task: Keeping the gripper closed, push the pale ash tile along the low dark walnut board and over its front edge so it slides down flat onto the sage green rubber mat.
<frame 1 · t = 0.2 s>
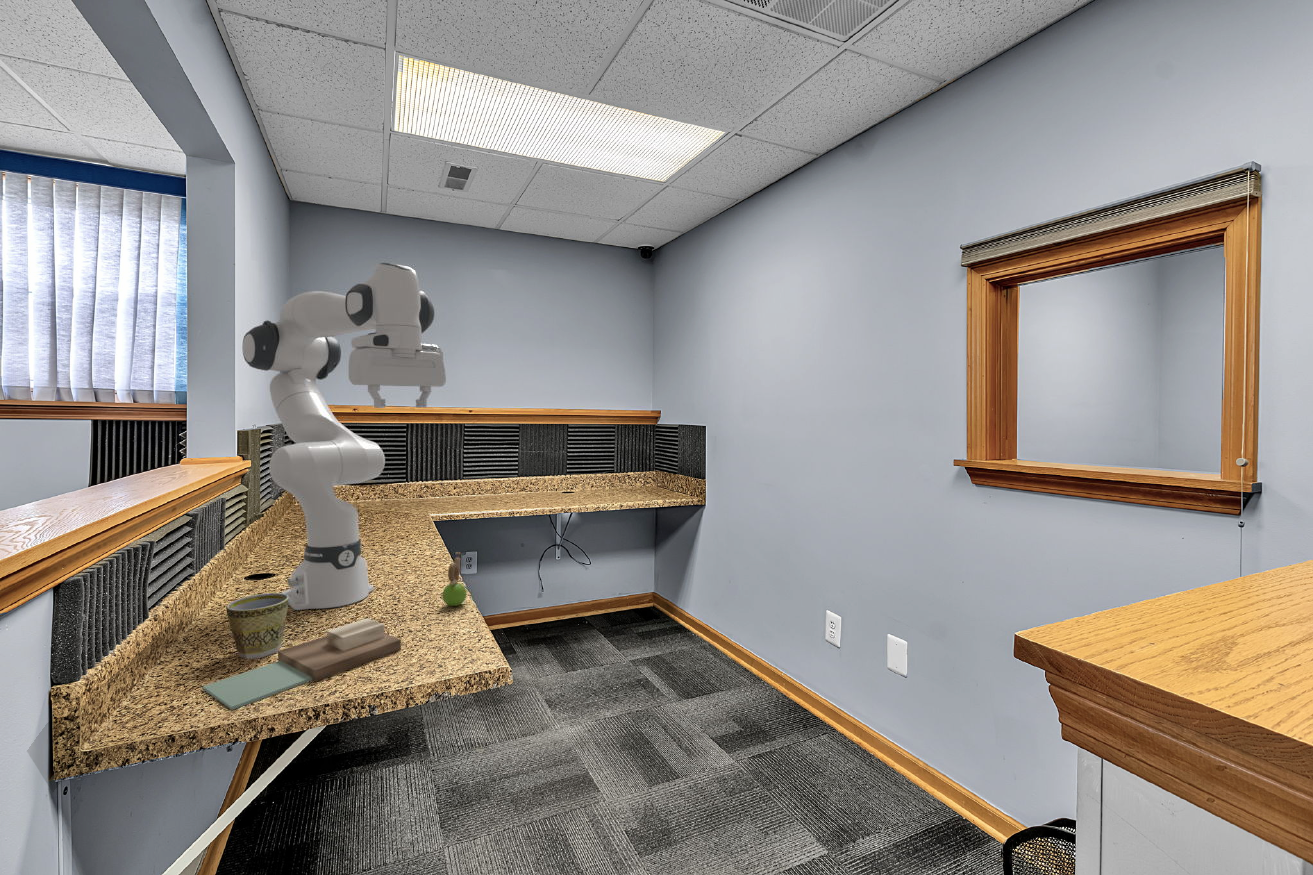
hand: (401, 407, 124), 47 cm above the table, tool pointing down, fingers open, 8 cm apart
ash tile: (356, 640, 114), point 2 cm above the table, touching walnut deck
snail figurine: (455, 605, 140), on the table
rubber mat: (258, 684, 100), on the table
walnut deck: (341, 655, 112), on the table
ceramic cup: (263, 649, 115), on the table
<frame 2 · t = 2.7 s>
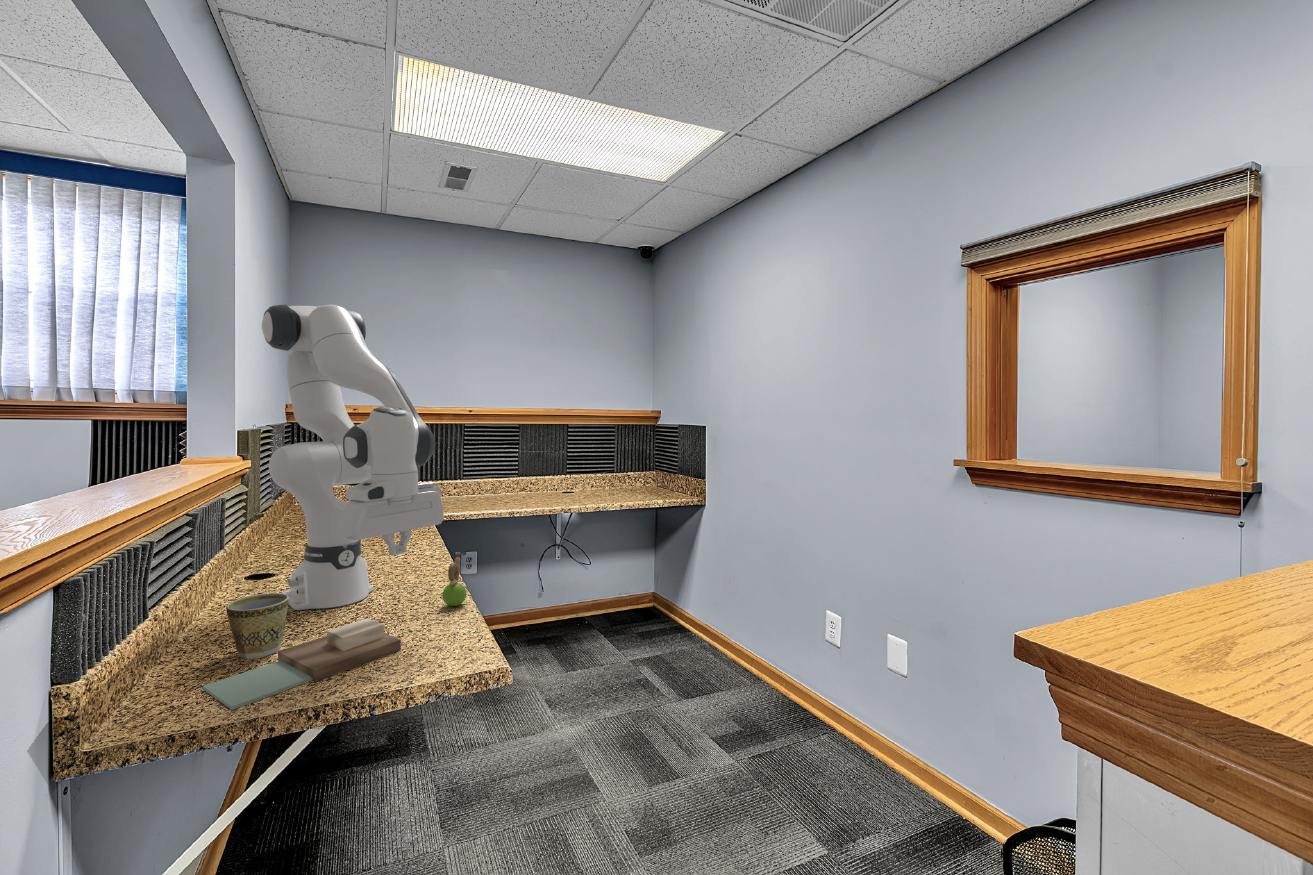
hand: (397, 553, 121), 17 cm above the table, tool pointing down, fingers closed
nothing on the table moved.
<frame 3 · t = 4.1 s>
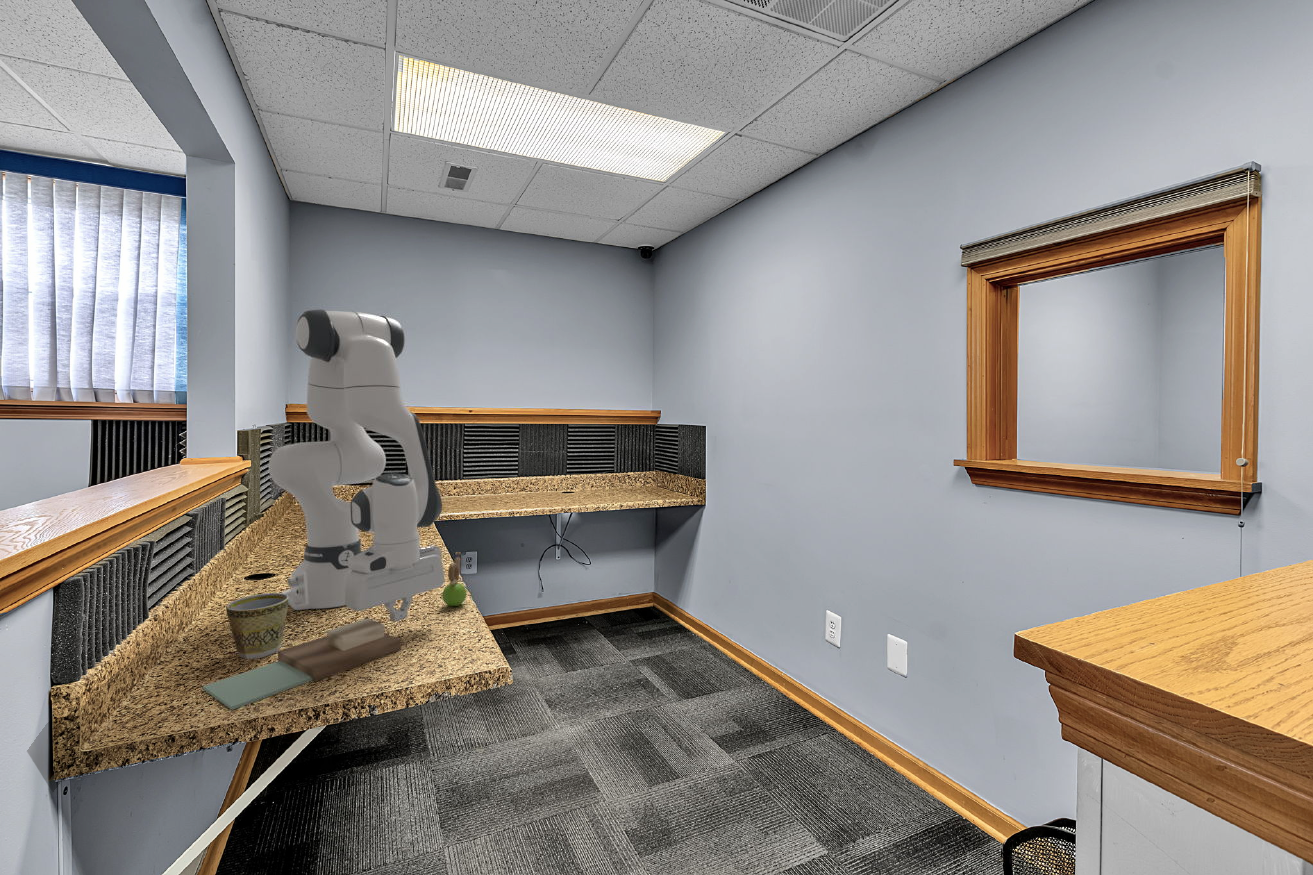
hand: (398, 619, 122), 3 cm above the table, tool pointing down, fingers closed
nothing on the table moved.
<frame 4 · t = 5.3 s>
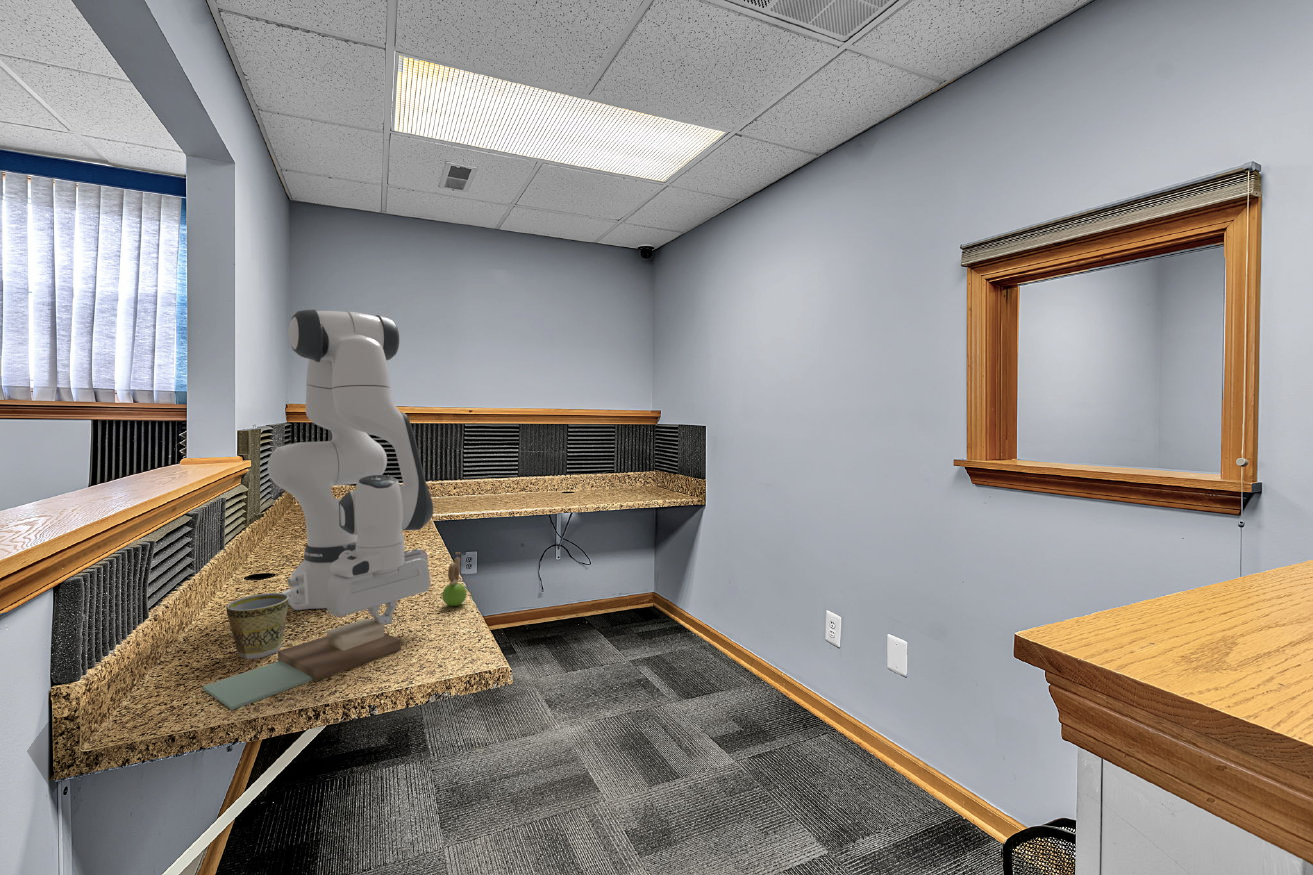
hand: (383, 624, 119), 3 cm above the table, tool pointing down, fingers closed
ash tile: (356, 640, 114), point 2 cm above the table, touching gripper
everything else where it was.
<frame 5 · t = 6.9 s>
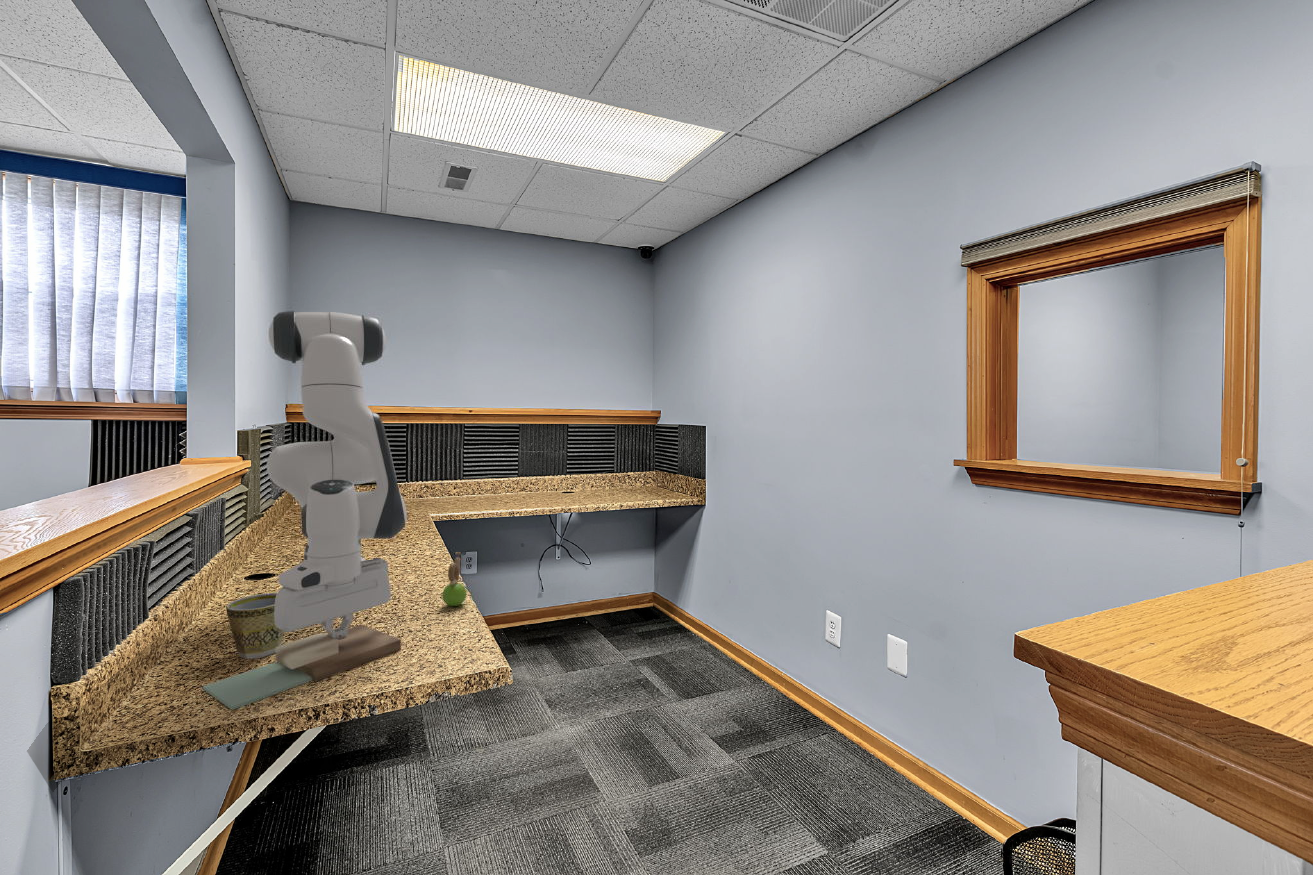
hand: (337, 639, 111), 3 cm above the table, tool pointing down, fingers closed
ash tile: (307, 656, 107), point 2 cm above the table, touching gripper
everything else where it was.
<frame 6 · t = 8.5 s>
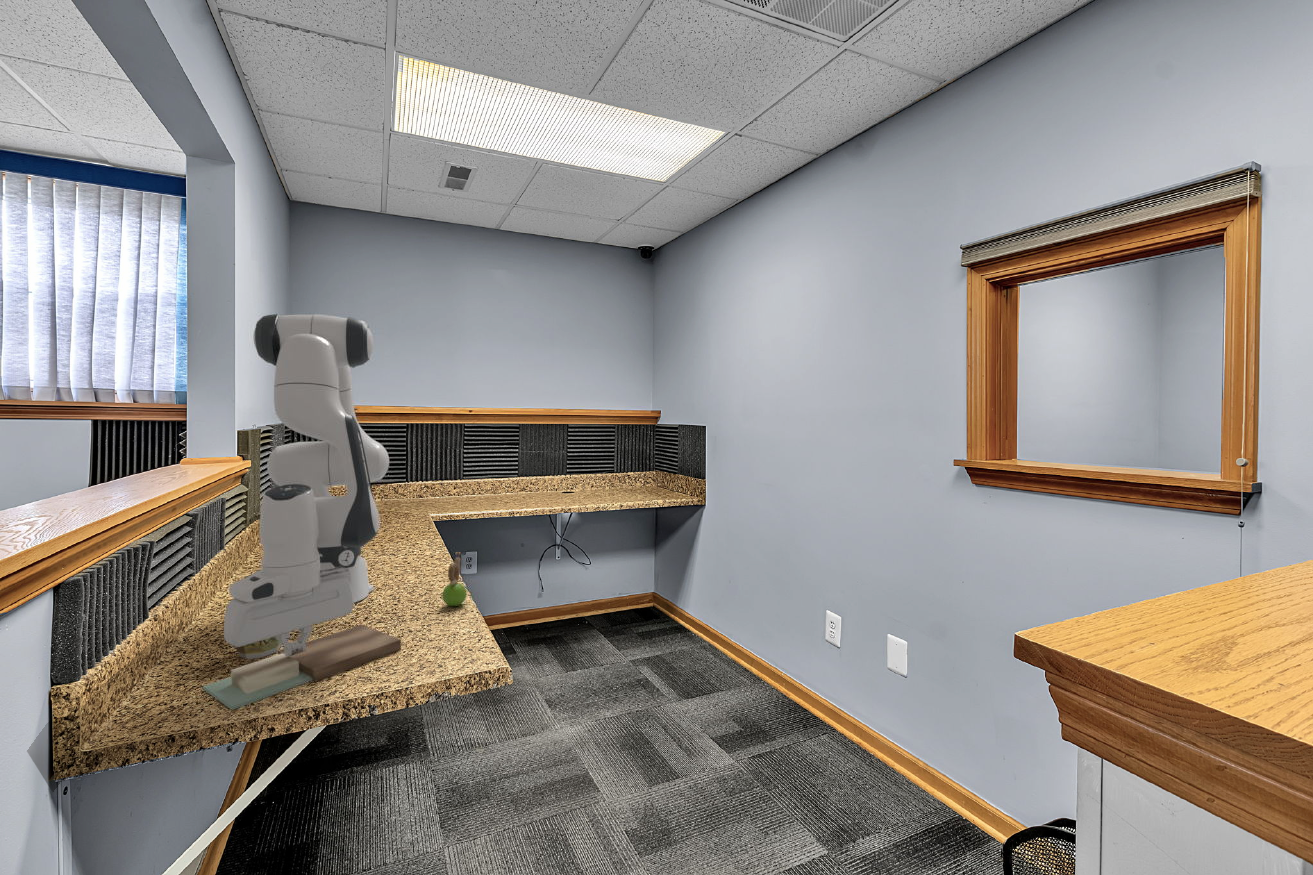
hand: (295, 653, 105), 3 cm above the table, tool pointing down, fingers closed
ash tile: (266, 679, 101), resting on rubber mat
everything else where it was.
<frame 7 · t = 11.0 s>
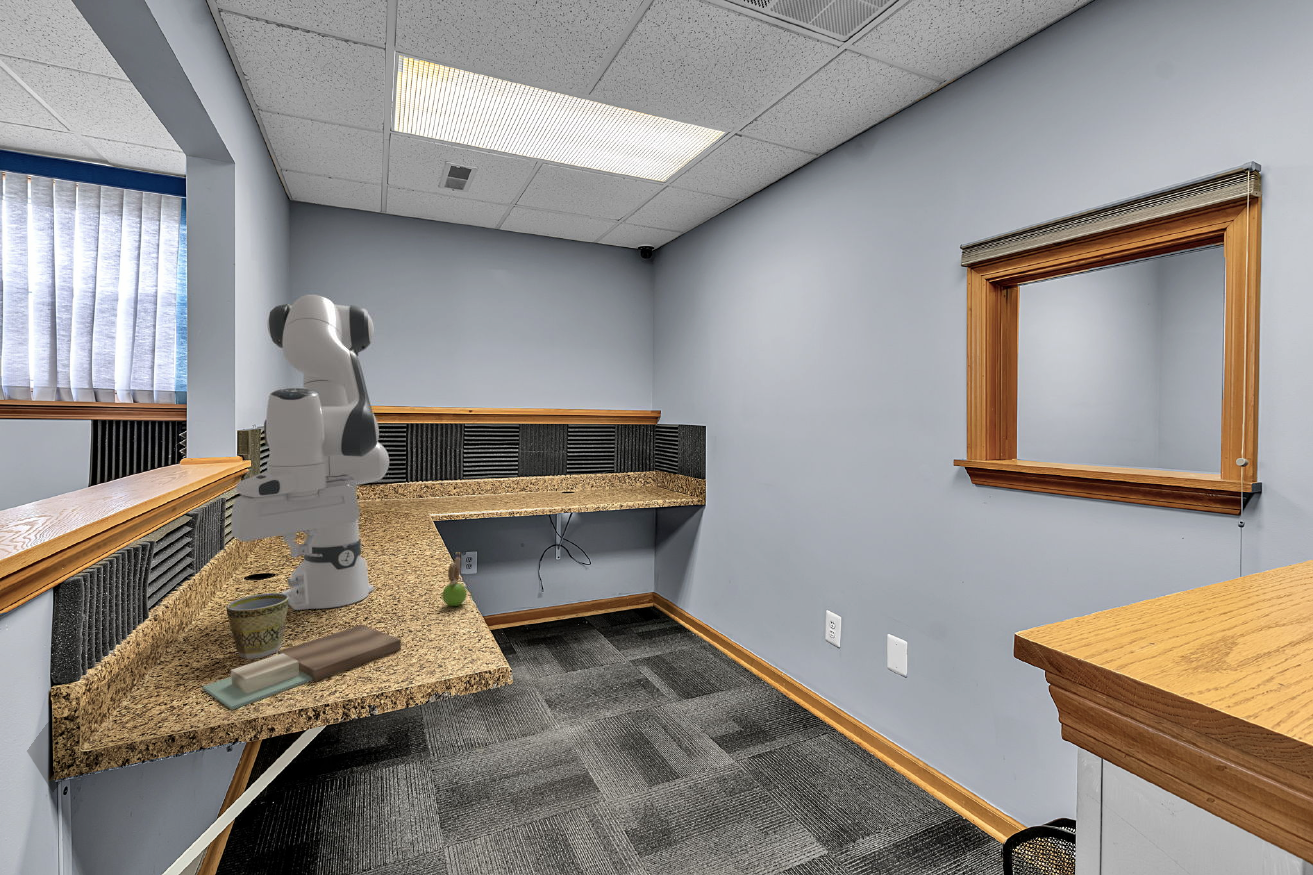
hand: (301, 555, 106), 21 cm above the table, tool pointing down, fingers closed
nothing on the table moved.
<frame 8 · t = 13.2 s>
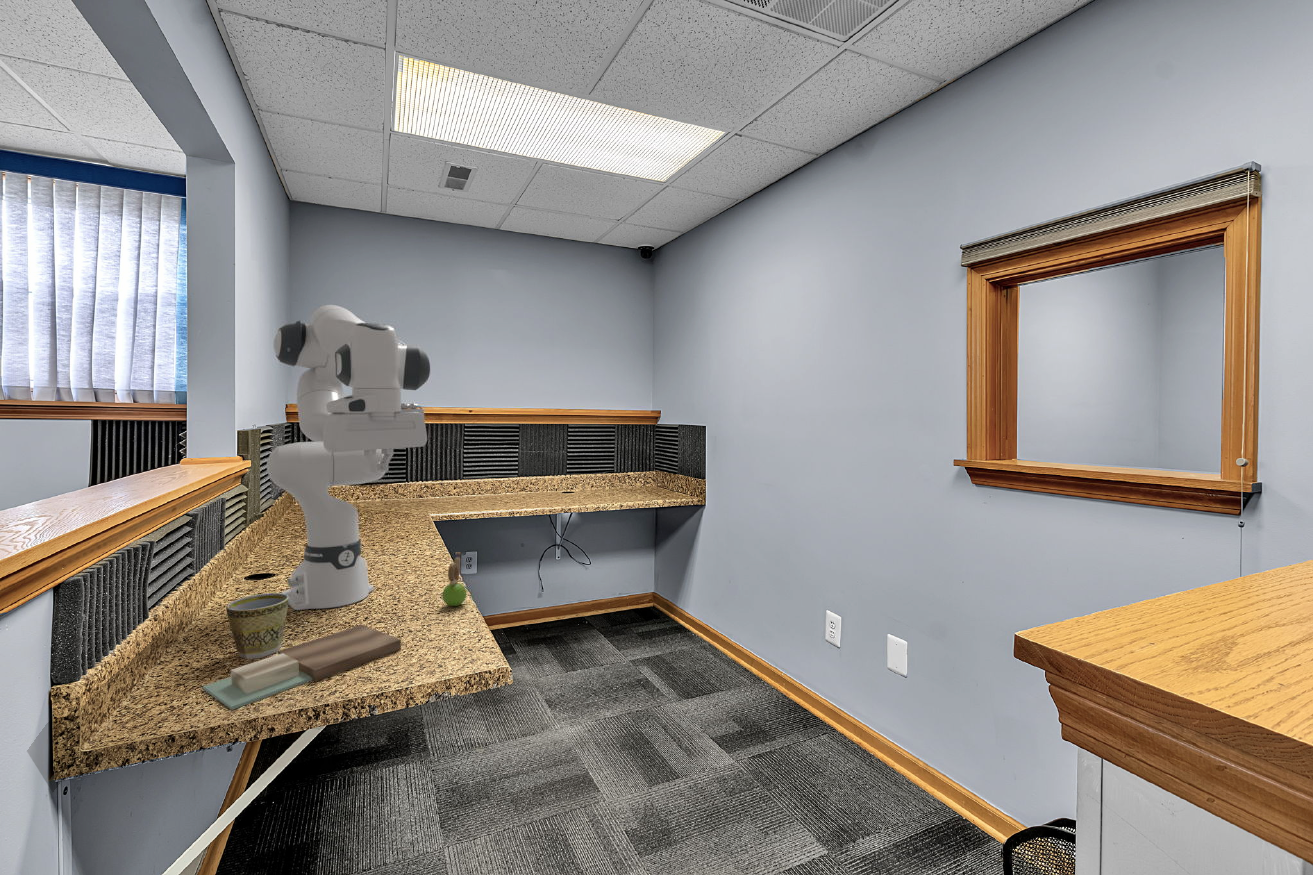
hand: (379, 471, 119), 34 cm above the table, tool pointing down, fingers closed
nothing on the table moved.
at the end: ash tile inside the target area on the rubber mat (1.1 cm from its centre), point 0.5 cm above the rubber mat's base; ash tile point 0.5 cm above the table; ash tile tilted 0° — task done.
